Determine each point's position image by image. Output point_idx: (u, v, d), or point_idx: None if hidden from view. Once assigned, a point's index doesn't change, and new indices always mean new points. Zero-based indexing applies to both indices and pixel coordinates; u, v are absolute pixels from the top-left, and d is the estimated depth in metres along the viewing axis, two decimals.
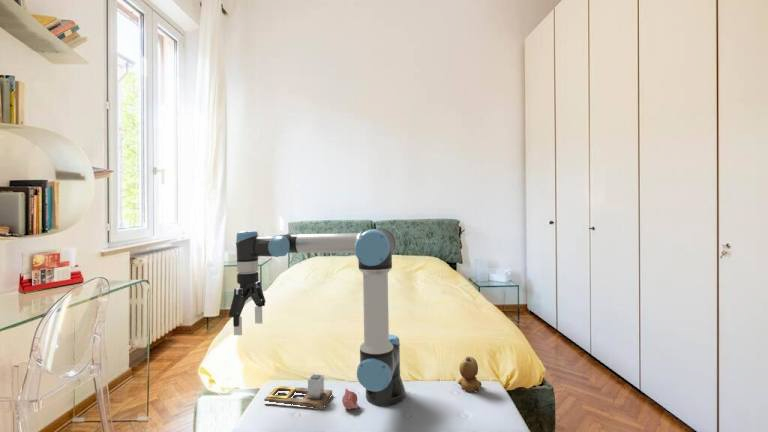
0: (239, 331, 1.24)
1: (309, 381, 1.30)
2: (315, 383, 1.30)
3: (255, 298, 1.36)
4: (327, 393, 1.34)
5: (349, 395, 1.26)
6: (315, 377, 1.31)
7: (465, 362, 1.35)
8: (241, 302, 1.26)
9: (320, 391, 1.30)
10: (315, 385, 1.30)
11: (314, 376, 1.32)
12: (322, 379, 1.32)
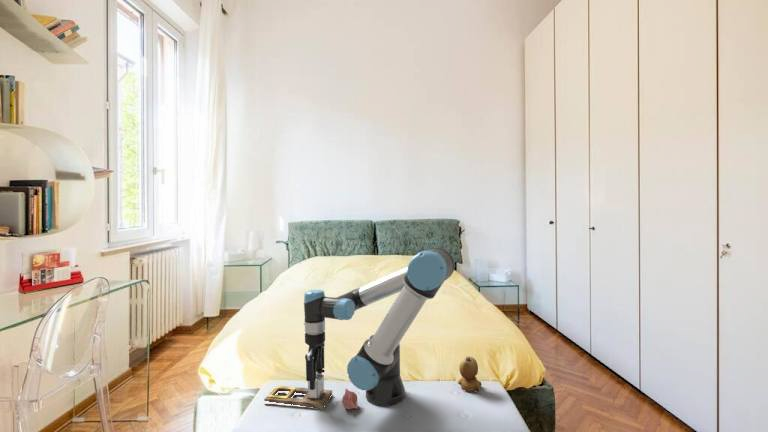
0: (315, 394, 1.29)
1: None
2: None
3: (318, 361, 1.34)
4: (327, 393, 1.34)
5: (349, 395, 1.26)
6: None
7: (465, 362, 1.35)
8: None
9: (320, 391, 1.30)
10: None
11: None
12: (322, 379, 1.33)
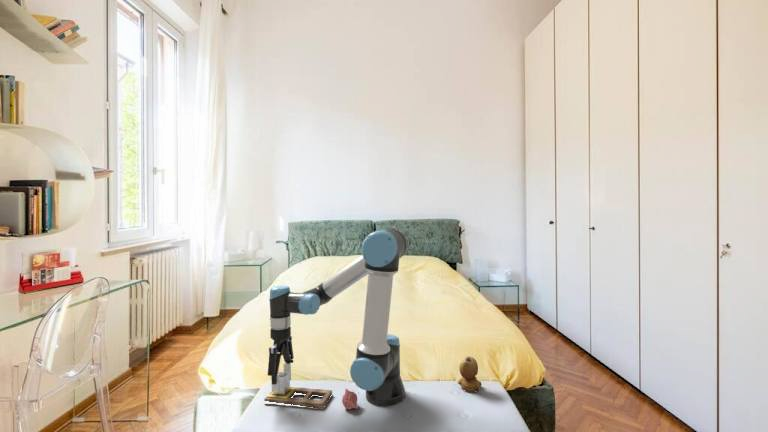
0: (277, 388, 1.29)
1: None
2: (280, 381, 1.32)
3: (285, 353, 1.38)
4: (327, 393, 1.34)
5: (349, 395, 1.26)
6: (281, 374, 1.34)
7: (465, 362, 1.35)
8: (277, 359, 1.31)
9: (285, 388, 1.33)
10: (280, 383, 1.32)
11: (280, 373, 1.35)
12: (288, 376, 1.35)
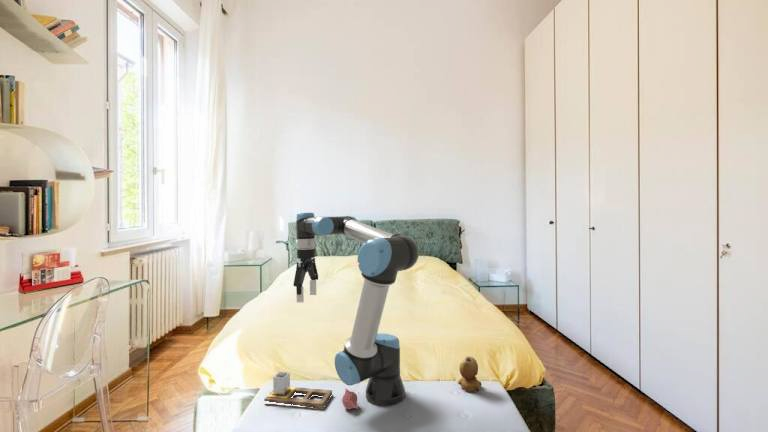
0: (301, 299, 1.42)
1: (274, 378, 1.33)
2: (280, 381, 1.32)
3: (311, 272, 1.54)
4: (327, 393, 1.34)
5: (349, 395, 1.26)
6: (281, 374, 1.34)
7: (465, 362, 1.35)
8: (302, 274, 1.44)
9: (285, 388, 1.33)
10: (280, 383, 1.32)
11: (280, 374, 1.35)
12: (288, 376, 1.35)
